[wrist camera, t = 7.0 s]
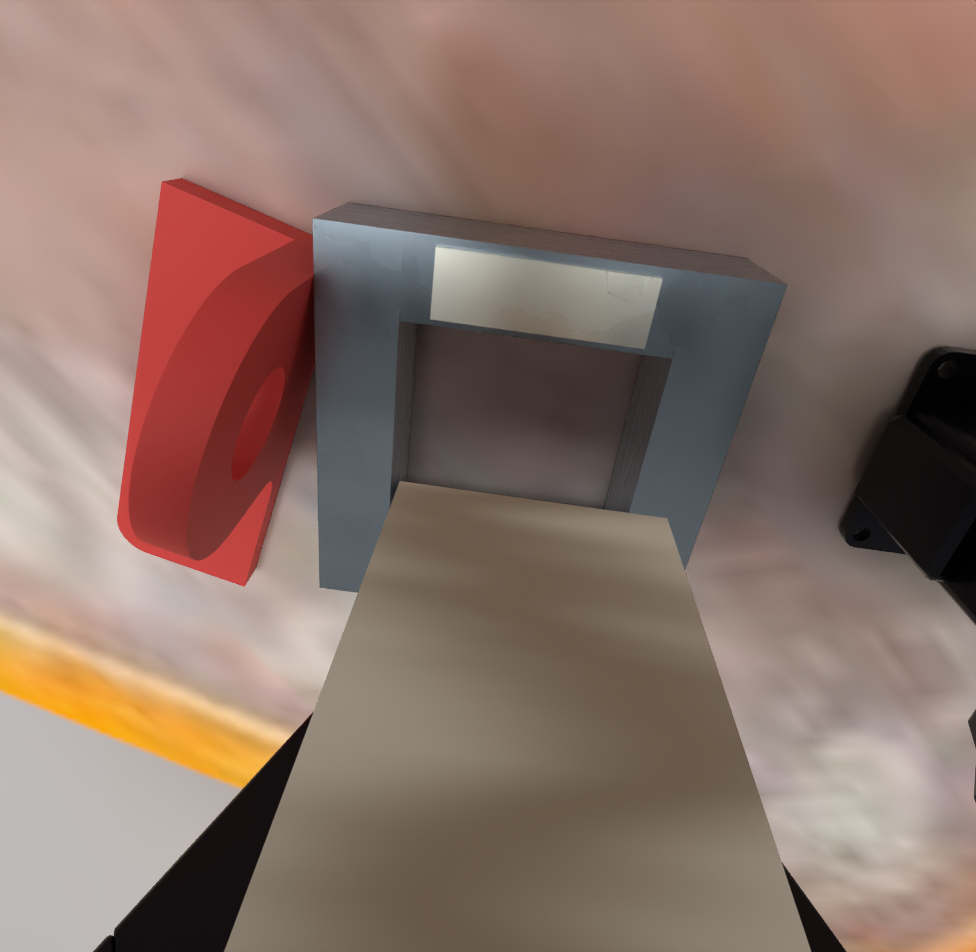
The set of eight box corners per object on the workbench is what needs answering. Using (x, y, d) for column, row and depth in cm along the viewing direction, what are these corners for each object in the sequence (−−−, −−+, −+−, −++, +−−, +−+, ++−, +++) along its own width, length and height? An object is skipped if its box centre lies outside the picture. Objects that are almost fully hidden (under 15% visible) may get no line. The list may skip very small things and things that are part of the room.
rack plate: (746, 258, 16) (790, 287, 13) (646, 571, 21) (663, 638, 19) (348, 202, 16) (309, 219, 13) (345, 530, 21) (317, 591, 19)
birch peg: (667, 517, 10) (1342, 2546, 2) (608, 700, 13) (767, 1973, 4) (400, 480, 10) (-296, 2342, 2) (388, 670, 13) (66, 1881, 4)
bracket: (184, 177, 16) (-71, 220, 9) (349, 250, 17) (223, 338, 10) (132, 522, 22) (-48, 705, 15) (257, 566, 23) (137, 760, 16)
